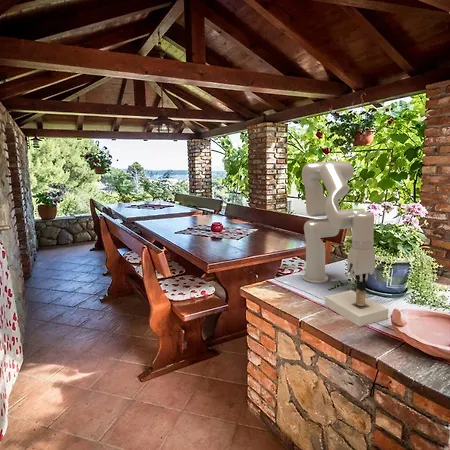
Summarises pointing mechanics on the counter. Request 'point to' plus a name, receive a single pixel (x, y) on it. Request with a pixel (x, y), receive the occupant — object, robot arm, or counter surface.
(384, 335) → the counter surface
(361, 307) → the beech peg
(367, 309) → the peg board
